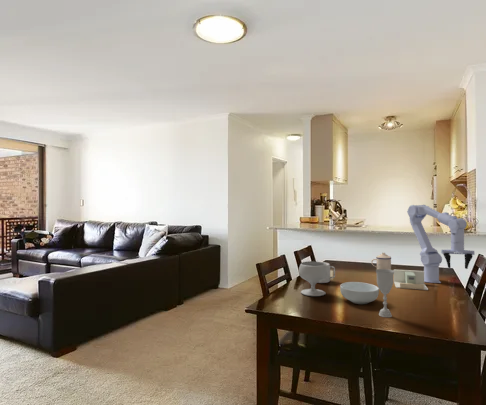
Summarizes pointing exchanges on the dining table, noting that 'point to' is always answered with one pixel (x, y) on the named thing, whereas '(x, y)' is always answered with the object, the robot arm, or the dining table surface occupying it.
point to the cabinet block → (410, 278)
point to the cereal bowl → (359, 292)
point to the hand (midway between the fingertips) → (457, 268)
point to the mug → (327, 273)
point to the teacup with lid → (383, 261)
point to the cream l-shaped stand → (400, 283)
